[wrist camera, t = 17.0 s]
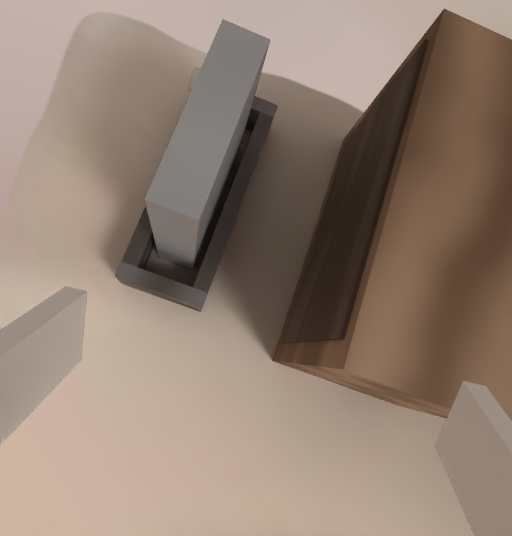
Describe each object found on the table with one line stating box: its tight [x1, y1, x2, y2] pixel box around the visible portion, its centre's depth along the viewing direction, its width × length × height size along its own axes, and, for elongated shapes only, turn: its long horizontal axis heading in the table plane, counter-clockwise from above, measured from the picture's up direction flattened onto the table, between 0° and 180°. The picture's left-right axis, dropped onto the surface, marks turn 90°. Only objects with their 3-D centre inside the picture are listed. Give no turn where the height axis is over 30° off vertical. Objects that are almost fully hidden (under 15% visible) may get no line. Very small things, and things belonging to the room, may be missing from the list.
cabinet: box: [115, 9, 512, 421], centre depth 30 cm, size 26×22×16 cm
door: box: [144, 19, 270, 269], centre depth 30 cm, size 4×12×14 cm, turn 161°
